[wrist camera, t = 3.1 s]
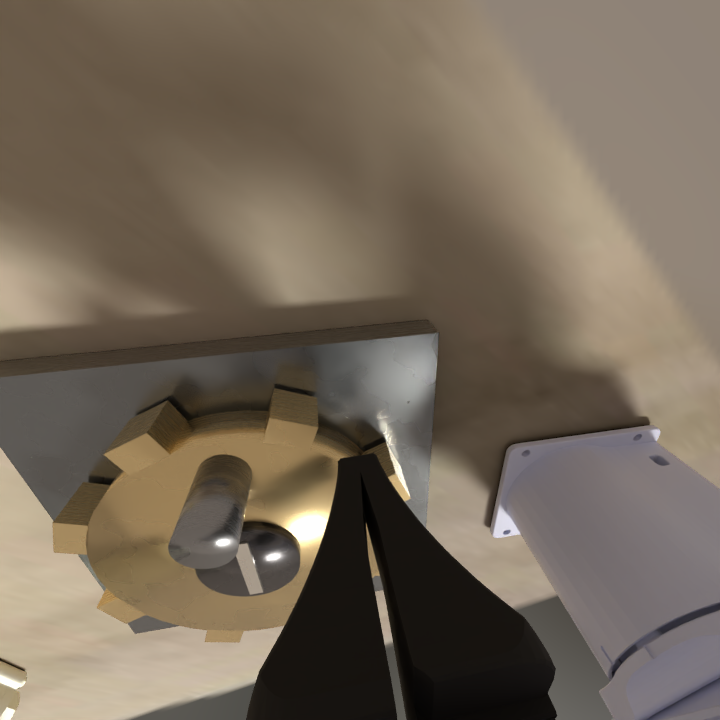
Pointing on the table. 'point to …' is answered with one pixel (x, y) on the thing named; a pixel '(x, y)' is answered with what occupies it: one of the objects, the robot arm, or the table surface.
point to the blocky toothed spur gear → (213, 514)
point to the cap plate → (220, 401)
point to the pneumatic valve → (10, 689)
